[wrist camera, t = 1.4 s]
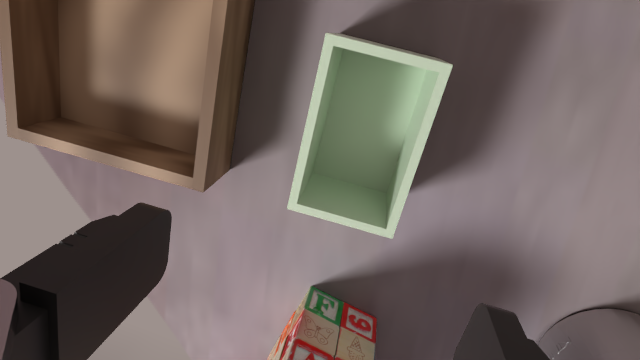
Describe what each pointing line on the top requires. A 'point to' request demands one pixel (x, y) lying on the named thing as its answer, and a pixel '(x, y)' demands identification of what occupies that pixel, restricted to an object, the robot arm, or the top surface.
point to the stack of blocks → (326, 331)
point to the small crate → (365, 132)
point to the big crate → (128, 81)
